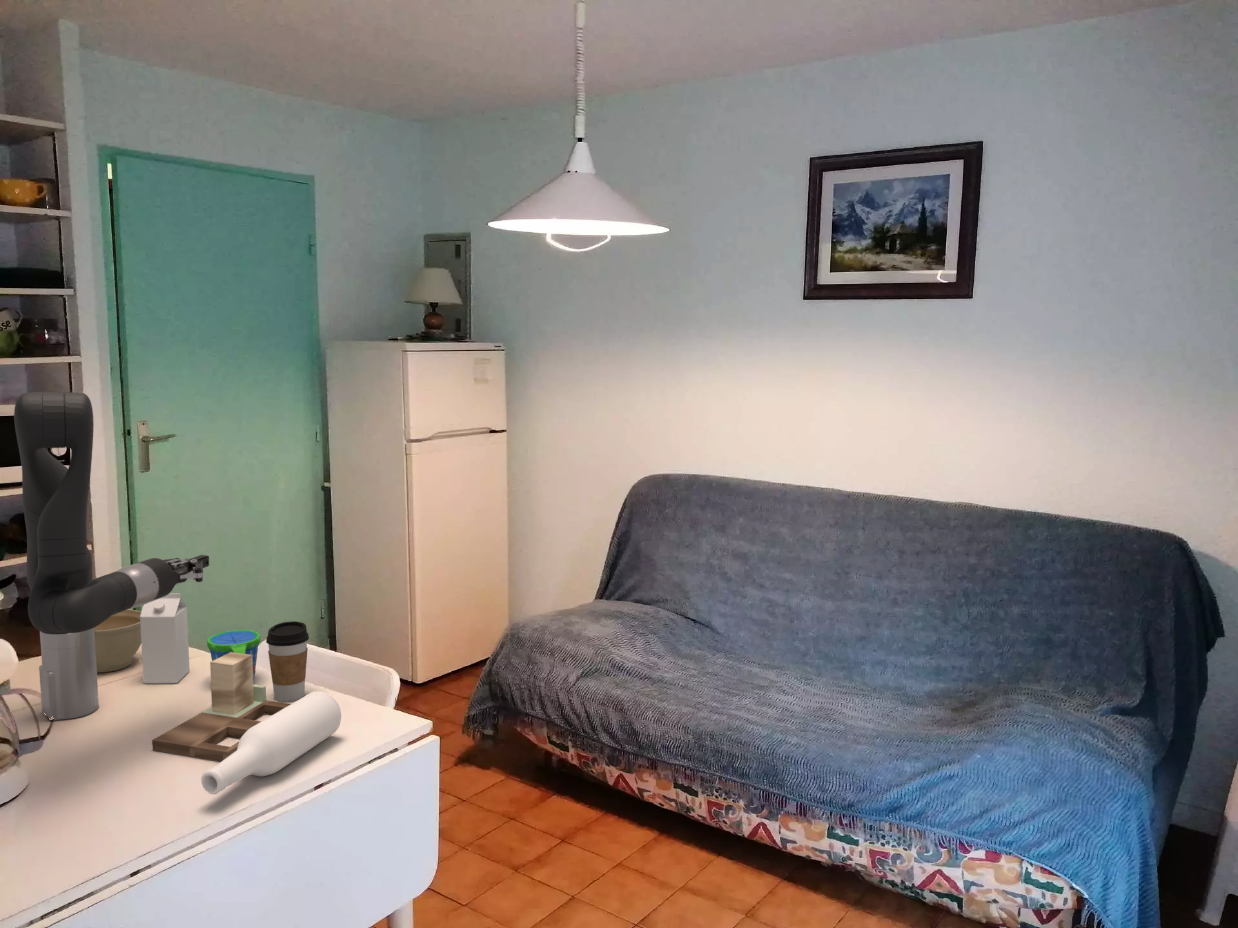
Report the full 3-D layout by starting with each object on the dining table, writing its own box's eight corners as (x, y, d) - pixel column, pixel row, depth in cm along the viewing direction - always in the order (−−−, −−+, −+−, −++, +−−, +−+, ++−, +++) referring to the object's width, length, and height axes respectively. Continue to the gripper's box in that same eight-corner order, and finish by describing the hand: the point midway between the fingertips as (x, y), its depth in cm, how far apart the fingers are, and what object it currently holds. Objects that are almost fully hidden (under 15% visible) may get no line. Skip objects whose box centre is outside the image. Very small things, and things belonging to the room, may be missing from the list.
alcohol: (301, 688, 178) (184, 754, 150) (341, 690, 176) (229, 758, 147) (306, 732, 179) (191, 807, 151) (345, 735, 177) (236, 811, 148)
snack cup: (207, 673, 207) (205, 628, 206) (258, 666, 212) (256, 623, 210) (210, 698, 193) (208, 651, 192) (265, 691, 198) (263, 645, 196)
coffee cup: (317, 689, 199) (315, 621, 197) (299, 705, 191) (297, 634, 189) (279, 687, 200) (277, 619, 198) (260, 703, 192) (258, 632, 190)
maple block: (234, 714, 181) (232, 665, 180) (212, 711, 182) (210, 662, 181) (253, 702, 187) (252, 654, 185) (232, 699, 188) (230, 652, 187)
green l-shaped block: (237, 727, 180) (236, 702, 179) (202, 721, 182) (201, 697, 181) (266, 709, 189) (265, 685, 188) (232, 704, 191) (231, 681, 190)
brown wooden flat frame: (228, 762, 165) (227, 752, 165) (152, 750, 170) (152, 739, 169) (301, 714, 186) (301, 705, 186) (232, 704, 191) (232, 695, 190)
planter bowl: (91, 684, 199) (88, 635, 198) (52, 668, 208) (49, 621, 206) (163, 663, 213) (160, 617, 211) (123, 648, 221) (121, 604, 220)
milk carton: (156, 672, 207) (152, 588, 204) (189, 671, 208) (186, 588, 205) (143, 684, 200) (138, 598, 197) (177, 683, 201) (173, 598, 198)
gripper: (169, 567, 167) (233, 545, 184) (109, 559, 171) (177, 538, 187) (171, 608, 168) (235, 581, 185) (111, 599, 172) (178, 574, 188)
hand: (205, 560), depth 186 cm, fingers closed
